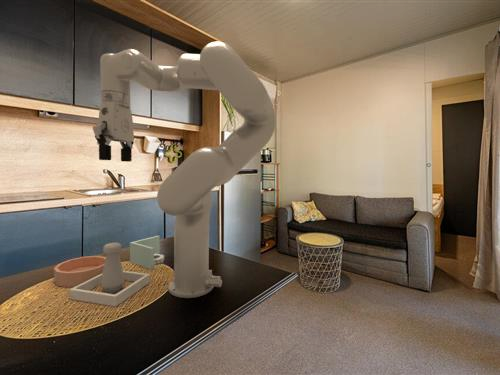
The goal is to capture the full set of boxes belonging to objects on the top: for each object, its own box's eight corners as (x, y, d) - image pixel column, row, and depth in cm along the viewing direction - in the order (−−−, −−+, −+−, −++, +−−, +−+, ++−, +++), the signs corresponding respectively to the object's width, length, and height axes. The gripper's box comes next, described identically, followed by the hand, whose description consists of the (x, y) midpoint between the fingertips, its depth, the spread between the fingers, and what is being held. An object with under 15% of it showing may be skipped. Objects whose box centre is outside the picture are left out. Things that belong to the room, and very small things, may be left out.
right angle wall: (151, 270, 83) (151, 248, 83) (129, 263, 89) (129, 242, 89) (179, 260, 93) (179, 240, 93) (158, 254, 100) (158, 235, 99)
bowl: (118, 270, 82) (118, 258, 81) (82, 289, 69) (82, 275, 68) (84, 265, 85) (83, 254, 84) (43, 283, 71) (42, 269, 71)
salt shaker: (114, 296, 65) (113, 247, 64) (95, 293, 66) (94, 246, 65) (129, 286, 71) (128, 241, 70) (111, 284, 72) (111, 240, 71)
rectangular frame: (149, 282, 74) (149, 274, 73) (115, 306, 60) (115, 296, 60) (110, 277, 77) (110, 269, 76) (69, 299, 63) (69, 289, 63)
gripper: (108, 91, 63) (108, 159, 64) (143, 108, 80) (143, 162, 81) (80, 91, 64) (81, 159, 65) (121, 108, 81) (122, 161, 82)
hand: (116, 160), depth 73 cm, fingers open, 9 cm apart
